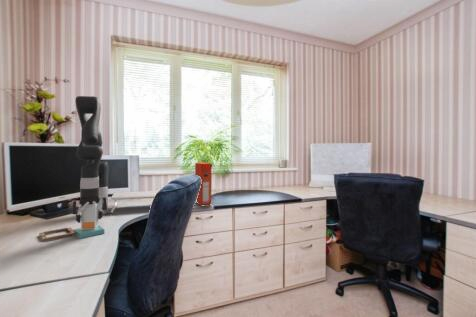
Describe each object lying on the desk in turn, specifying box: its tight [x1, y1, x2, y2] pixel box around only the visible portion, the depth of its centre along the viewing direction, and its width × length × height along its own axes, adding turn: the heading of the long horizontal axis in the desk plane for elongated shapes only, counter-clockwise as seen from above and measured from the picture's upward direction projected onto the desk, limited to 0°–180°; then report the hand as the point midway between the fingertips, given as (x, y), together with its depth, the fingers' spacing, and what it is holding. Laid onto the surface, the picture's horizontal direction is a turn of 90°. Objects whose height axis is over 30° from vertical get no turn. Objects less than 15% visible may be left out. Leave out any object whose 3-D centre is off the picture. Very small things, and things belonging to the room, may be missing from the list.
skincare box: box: [80, 204, 99, 230], centre depth 111 cm, size 6×4×12 cm
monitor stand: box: [109, 190, 159, 215], centre depth 166 cm, size 37×28×11 cm
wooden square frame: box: [38, 227, 77, 242], centre depth 108 cm, size 12×12×1 cm
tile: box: [73, 224, 105, 240], centre depth 111 cm, size 10×10×2 cm
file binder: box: [194, 162, 212, 206], centre depth 182 cm, size 8×17×32 cm, turn 26°
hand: (89, 220), depth 111 cm, fingers open, 8 cm apart
